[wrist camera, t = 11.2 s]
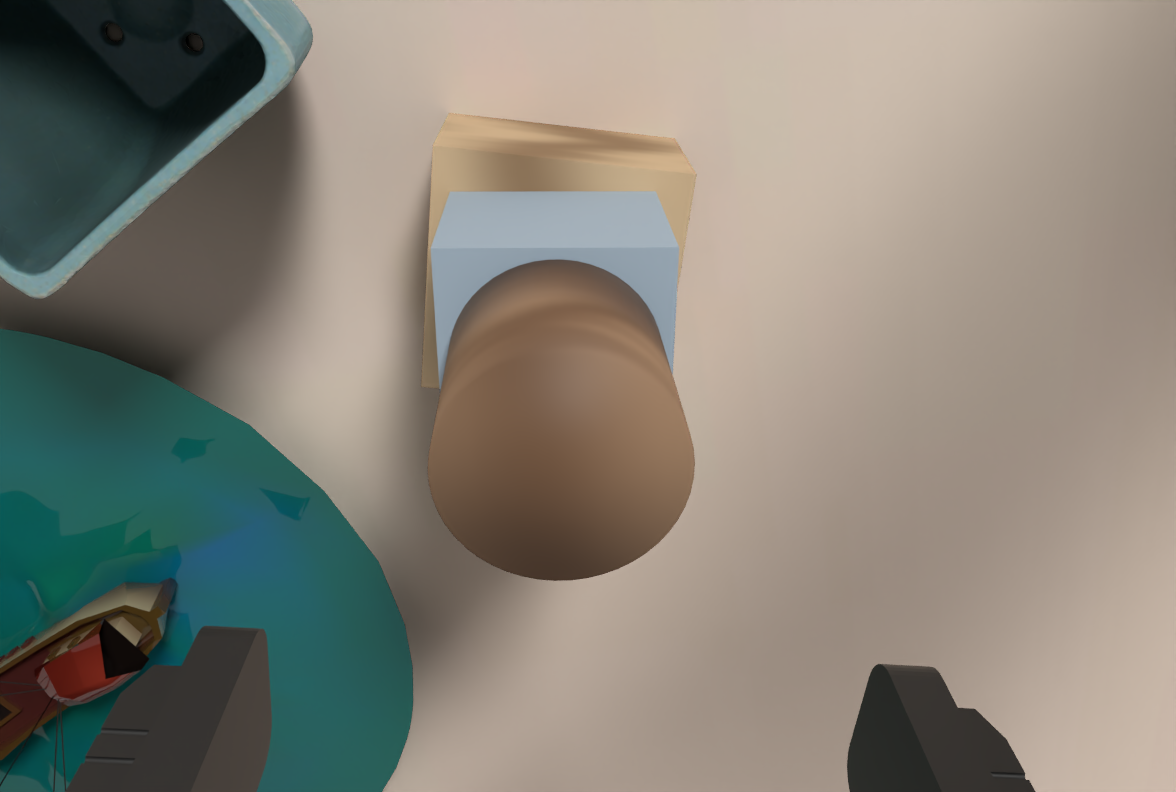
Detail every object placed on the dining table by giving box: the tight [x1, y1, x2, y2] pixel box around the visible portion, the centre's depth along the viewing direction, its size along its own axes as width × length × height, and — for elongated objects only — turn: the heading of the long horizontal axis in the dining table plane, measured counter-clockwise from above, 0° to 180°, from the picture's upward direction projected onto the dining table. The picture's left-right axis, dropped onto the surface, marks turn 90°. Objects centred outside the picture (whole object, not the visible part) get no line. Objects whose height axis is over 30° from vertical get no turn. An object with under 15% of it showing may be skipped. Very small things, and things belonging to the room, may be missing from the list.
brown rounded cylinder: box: [428, 259, 695, 581], centre depth 20 cm, size 5×5×5 cm
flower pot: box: [0, 0, 313, 299], centre depth 24 cm, size 9×9×9 cm
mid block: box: [431, 191, 679, 391], centre depth 25 cm, size 6×6×5 cm
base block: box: [421, 113, 697, 389], centre depth 29 cm, size 7×7×5 cm
